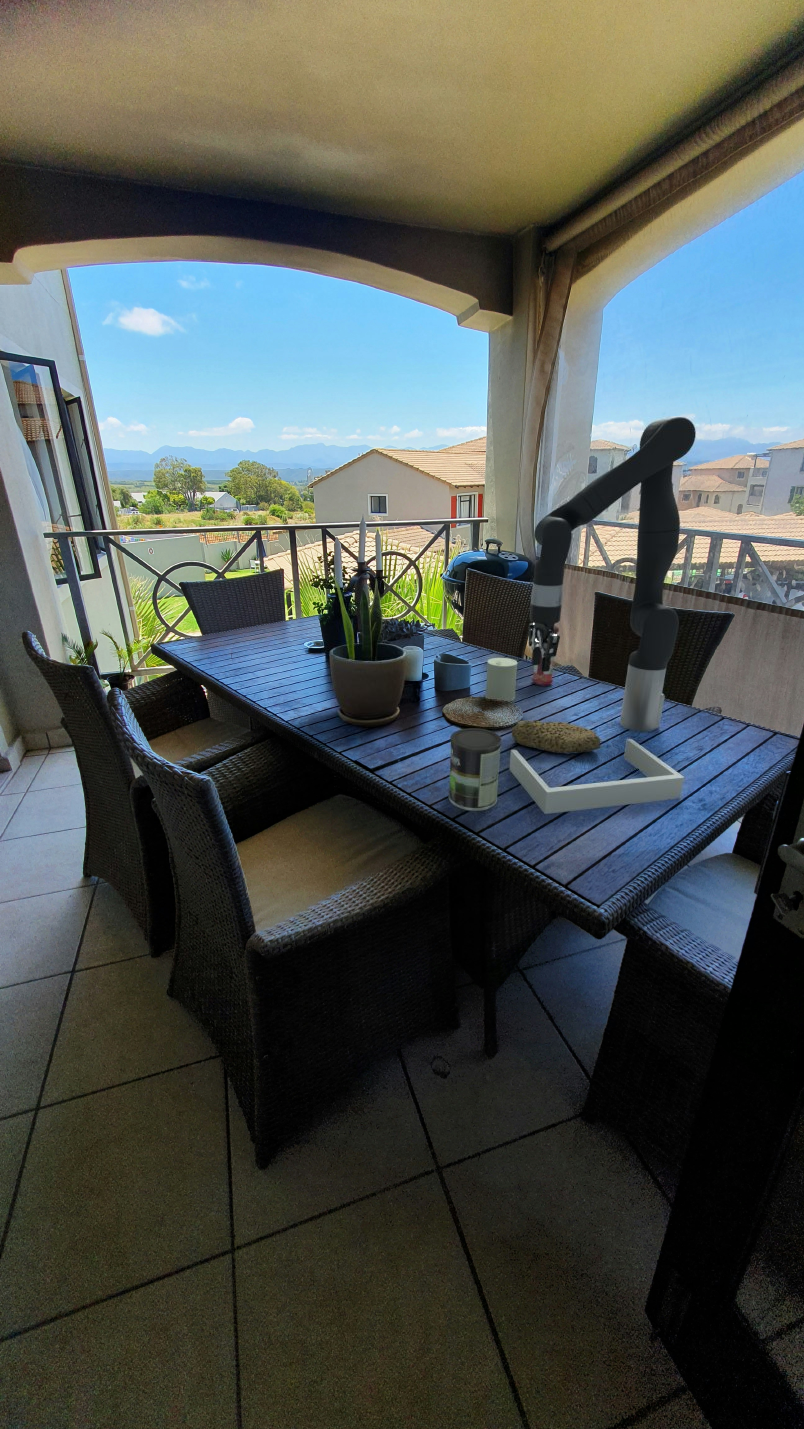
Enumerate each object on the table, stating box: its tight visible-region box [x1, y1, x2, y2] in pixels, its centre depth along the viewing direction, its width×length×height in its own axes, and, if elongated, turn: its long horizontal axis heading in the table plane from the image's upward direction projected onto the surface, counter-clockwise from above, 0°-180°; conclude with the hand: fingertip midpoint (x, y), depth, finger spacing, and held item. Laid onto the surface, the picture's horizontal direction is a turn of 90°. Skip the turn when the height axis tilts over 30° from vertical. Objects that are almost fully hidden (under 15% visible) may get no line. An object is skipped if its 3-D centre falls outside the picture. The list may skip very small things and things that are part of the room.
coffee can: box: [448, 727, 502, 812], centre depth 116 cm, size 10×10×14 cm
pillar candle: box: [484, 657, 518, 703], centre depth 173 cm, size 9×9×12 cm
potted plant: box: [329, 573, 408, 728], centre depth 154 cm, size 21×22×40 cm
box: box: [509, 738, 685, 815], centre depth 123 cm, size 30×20×5 cm, turn 101°
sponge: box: [511, 720, 602, 754], centre depth 140 cm, size 13×8×20 cm
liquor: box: [531, 624, 560, 687], centre depth 181 cm, size 7×7×28 cm
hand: (540, 667), depth 145 cm, fingers open, 5 cm apart
